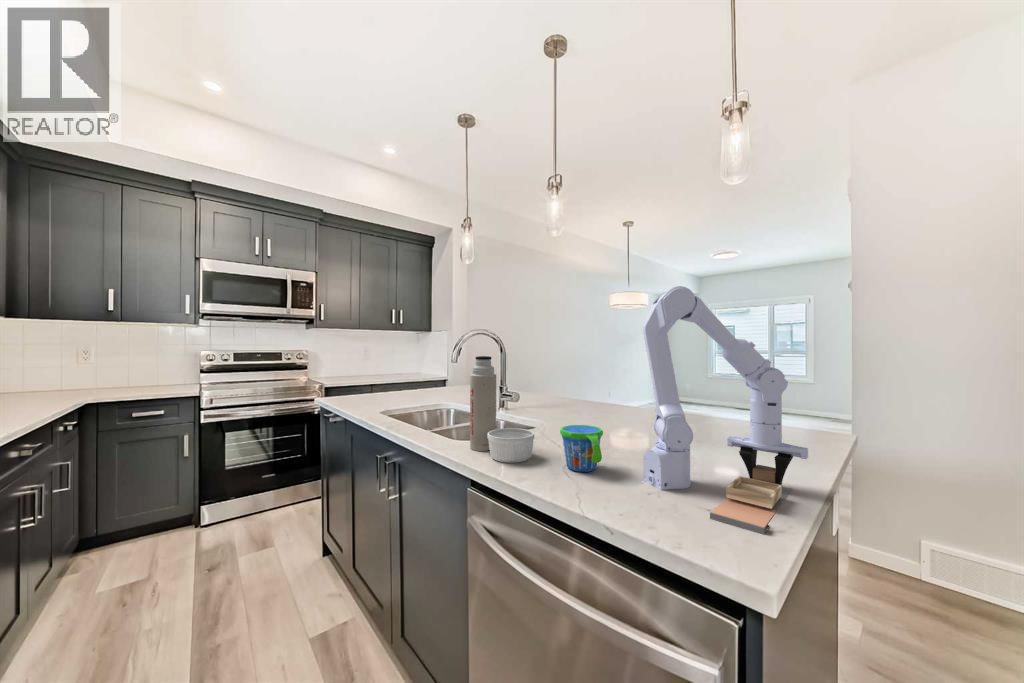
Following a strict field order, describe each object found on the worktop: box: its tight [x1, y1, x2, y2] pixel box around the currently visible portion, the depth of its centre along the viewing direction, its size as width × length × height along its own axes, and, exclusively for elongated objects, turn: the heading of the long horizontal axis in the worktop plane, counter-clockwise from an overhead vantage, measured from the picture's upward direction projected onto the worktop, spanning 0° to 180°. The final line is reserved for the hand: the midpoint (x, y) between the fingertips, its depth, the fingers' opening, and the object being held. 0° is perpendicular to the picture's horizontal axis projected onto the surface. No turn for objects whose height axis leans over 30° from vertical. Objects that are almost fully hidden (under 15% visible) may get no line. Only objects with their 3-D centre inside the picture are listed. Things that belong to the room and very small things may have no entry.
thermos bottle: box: [469, 355, 497, 452], centre depth 120 cm, size 8×8×28 cm
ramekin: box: [487, 427, 535, 464], centre depth 110 cm, size 13×13×7 cm
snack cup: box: [559, 424, 604, 473], centre depth 100 cm, size 16×10×10 cm
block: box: [753, 464, 776, 484], centre depth 84 cm, size 4×4×4 cm
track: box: [709, 485, 793, 535], centre depth 78 cm, size 25×8×1 cm, turn 135°
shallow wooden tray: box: [725, 475, 783, 509], centre depth 78 cm, size 9×8×2 cm
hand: (765, 485), depth 84 cm, fingers closed on block, 4 cm apart
